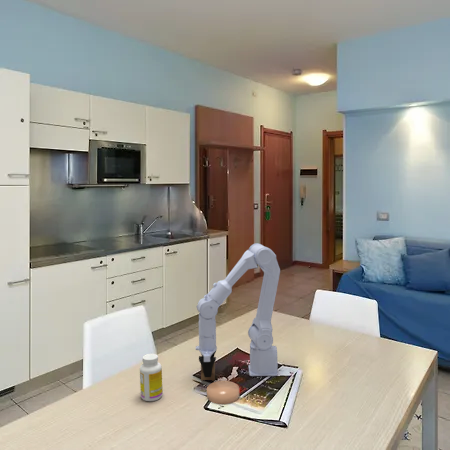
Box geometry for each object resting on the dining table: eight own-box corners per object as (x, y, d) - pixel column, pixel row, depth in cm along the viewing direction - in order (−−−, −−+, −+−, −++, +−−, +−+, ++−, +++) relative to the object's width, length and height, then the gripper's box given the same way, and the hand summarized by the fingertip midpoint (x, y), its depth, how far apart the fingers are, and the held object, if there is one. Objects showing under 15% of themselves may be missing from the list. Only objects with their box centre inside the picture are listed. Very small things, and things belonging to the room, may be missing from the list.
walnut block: (215, 374, 143) (214, 357, 143) (214, 380, 139) (214, 363, 138) (201, 374, 143) (201, 357, 143) (201, 380, 139) (200, 363, 138)
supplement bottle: (166, 393, 131) (165, 353, 130) (156, 403, 125) (154, 362, 124) (147, 389, 133) (146, 351, 132) (136, 400, 127) (135, 359, 126)
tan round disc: (238, 387, 134) (238, 380, 134) (240, 404, 124) (240, 396, 124) (207, 388, 134) (207, 380, 134) (206, 405, 124) (206, 397, 124)
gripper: (196, 326, 147) (197, 363, 148) (193, 342, 132) (194, 383, 134) (216, 326, 147) (217, 363, 148) (216, 342, 132) (216, 383, 134)
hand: (208, 373), depth 141 cm, fingers closed on walnut block, 4 cm apart
